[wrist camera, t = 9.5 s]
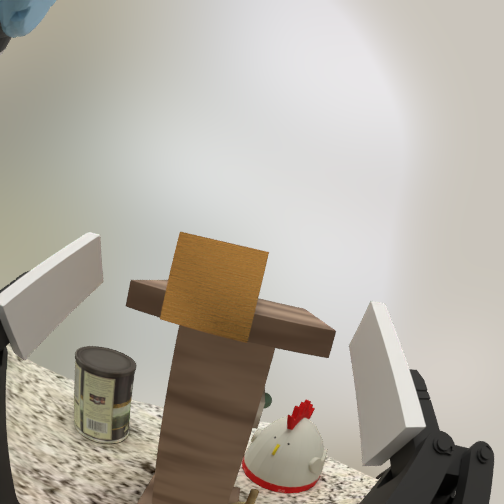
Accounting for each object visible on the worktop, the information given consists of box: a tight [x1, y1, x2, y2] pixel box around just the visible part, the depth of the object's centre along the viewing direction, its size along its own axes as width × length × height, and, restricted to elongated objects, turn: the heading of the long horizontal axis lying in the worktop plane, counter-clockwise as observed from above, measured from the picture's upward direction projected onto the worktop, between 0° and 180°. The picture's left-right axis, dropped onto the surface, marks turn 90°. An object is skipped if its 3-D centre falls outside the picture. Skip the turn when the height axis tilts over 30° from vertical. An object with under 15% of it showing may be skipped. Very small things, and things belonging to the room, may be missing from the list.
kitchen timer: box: [242, 400, 327, 493], centre depth 39 cm, size 14×14×15 cm
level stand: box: [126, 280, 336, 504], centre depth 25 cm, size 15×17×30 cm
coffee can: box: [74, 346, 136, 444], centre depth 38 cm, size 10×10×14 cm
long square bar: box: [160, 232, 269, 343], centre depth 22 cm, size 24×3×3 cm, turn 178°
